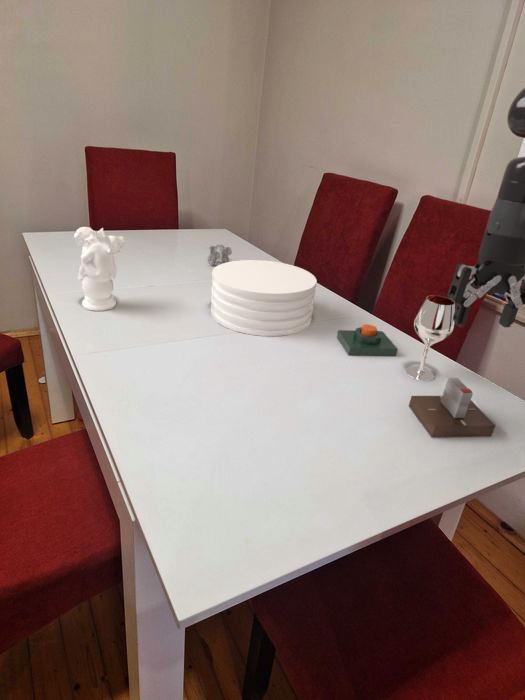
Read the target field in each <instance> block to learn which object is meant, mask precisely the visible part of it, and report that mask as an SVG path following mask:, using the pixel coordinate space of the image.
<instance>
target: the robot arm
mask: <svg viewBox="0 0 525 700" xmlns="http://www.w3.org/2000/svg"><path fill="white" fill-rule="evenodd" d="M508 108H509V109H508V112H507V119H506V121H507V127H508V129H509V130H510V131H511V133H512V134H513V135H514V136H516V137H519V138H523V139H525V87H523V88H522V89H521V90H520V91H519V92H518V93H517V95H516V96H515V97H514V98H513V100H512V102H511V104H510V106H509V107H508ZM473 277H474V278H473ZM469 280H470V281H469ZM520 281H521V282H520ZM519 282H520V287H519V284H518V283H519ZM486 294H487V295H493V294H498V295H504V298H505V300H506V302H505V303H504V304H503V308H502V311H501V314H500V318H499V319H498V323H499V325H500V326H502V327H503V328H510V327H511V326H512V325H513V324H514V322H515V320H516V317H517V314H518V311H519V309H520V308H521V307H522V306H525V156H519V157H515V158H512V159H511V160H509V162H507V164H506V167H505V169H504V173H503V175H502V179H501V183H500V186H499V190H498V193H497V197H496V199H495V201H494V203H493V206H492V208H491V210H490V214H489V216H488V219H487V224H486V227H485V230H484V233H483V235H482V239H481V244H480V247H479V250H478V260H477V262H476V263H475V265H473V266H471V265H467V264H466V265H465V264H464V263H457V266H456V268H455V271H454V273H453V277H452V280H451V283H450V286H449V289H448V292H447V295H446V296H447V298H449V299H451V300H453V301H454V302H455V313H454V315H453V321H454V325H456V326H457V327H459V328H465V326H466V323H467V320H468V318H469V317H468V316H469V313H470V310H471V307H470V306H471V305H472V304H473V303H474V302H475V301H476V300H477V299H481V298H482V297H484V296H485V295H486Z"/></svg>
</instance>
